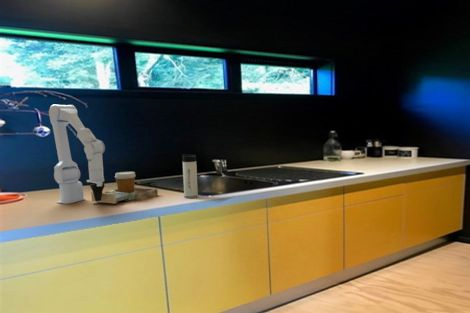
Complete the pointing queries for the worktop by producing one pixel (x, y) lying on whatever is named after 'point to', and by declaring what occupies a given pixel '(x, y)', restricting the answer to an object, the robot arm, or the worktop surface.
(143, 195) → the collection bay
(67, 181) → the robot arm
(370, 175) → the worktop surface
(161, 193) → the worktop surface
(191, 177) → the travel mug
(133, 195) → the beige grey flat-sided piece
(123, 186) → the disposable coffee cup
